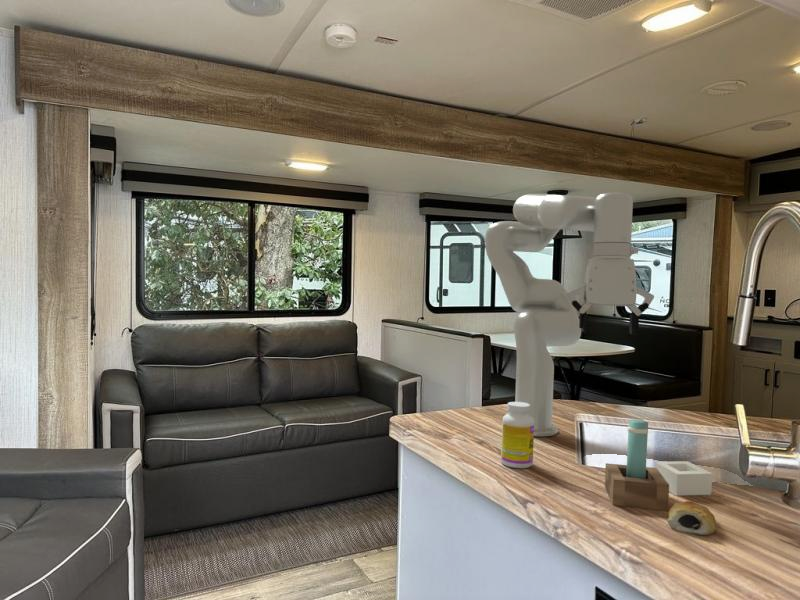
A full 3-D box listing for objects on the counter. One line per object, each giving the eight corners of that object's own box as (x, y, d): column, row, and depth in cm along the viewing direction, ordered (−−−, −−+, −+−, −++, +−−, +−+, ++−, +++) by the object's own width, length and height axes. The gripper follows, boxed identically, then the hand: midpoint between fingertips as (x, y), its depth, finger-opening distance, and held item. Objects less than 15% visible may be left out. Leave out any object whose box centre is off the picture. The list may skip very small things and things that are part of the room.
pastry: (673, 510, 96) (674, 488, 96) (717, 520, 92) (719, 497, 92) (665, 529, 88) (667, 506, 88) (714, 541, 84) (716, 517, 84)
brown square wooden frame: (604, 486, 106) (605, 463, 105) (655, 491, 104) (656, 467, 104) (612, 504, 97) (613, 479, 97) (668, 510, 95) (669, 484, 95)
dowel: (623, 493, 102) (627, 418, 102) (642, 495, 101) (646, 420, 101) (626, 500, 99) (630, 423, 98) (646, 502, 98) (650, 424, 98)
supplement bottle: (533, 470, 113) (535, 408, 113) (500, 467, 115) (502, 406, 114) (532, 460, 120) (534, 401, 120) (501, 457, 121) (503, 399, 121)
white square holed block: (654, 481, 109) (654, 461, 109) (686, 481, 110) (687, 461, 110) (676, 495, 102) (677, 474, 102) (711, 494, 103) (712, 473, 103)
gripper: (651, 254, 119) (647, 333, 119) (567, 252, 122) (564, 329, 123) (659, 252, 111) (656, 336, 112) (570, 250, 115) (567, 332, 116)
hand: (608, 333), depth 118 cm, fingers open, 9 cm apart
